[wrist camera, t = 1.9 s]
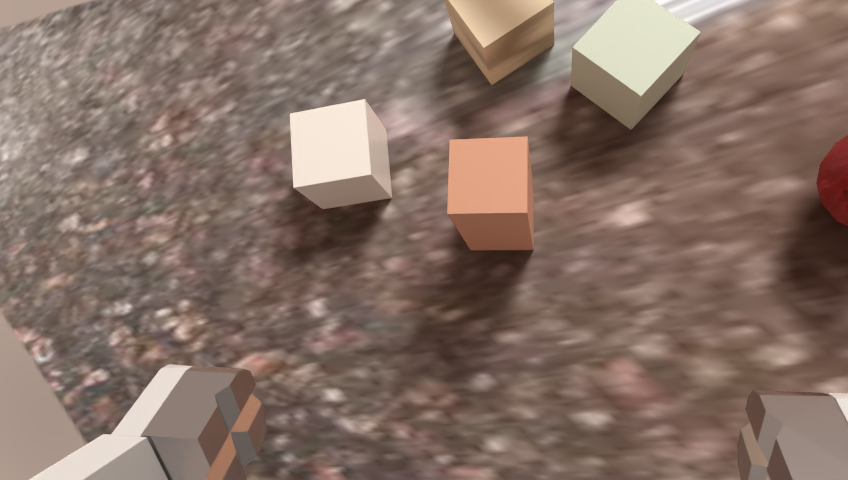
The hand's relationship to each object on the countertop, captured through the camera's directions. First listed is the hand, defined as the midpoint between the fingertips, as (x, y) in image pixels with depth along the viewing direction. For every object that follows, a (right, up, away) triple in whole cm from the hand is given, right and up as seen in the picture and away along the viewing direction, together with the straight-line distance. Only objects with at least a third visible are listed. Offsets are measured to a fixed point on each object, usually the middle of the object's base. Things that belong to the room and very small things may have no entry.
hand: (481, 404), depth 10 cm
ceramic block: (-6, +8, +33) cm, 34 cm away
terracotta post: (+4, +4, +29) cm, 30 cm away
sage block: (+12, +13, +30) cm, 35 cm away
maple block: (+5, +17, +32) cm, 37 cm away
